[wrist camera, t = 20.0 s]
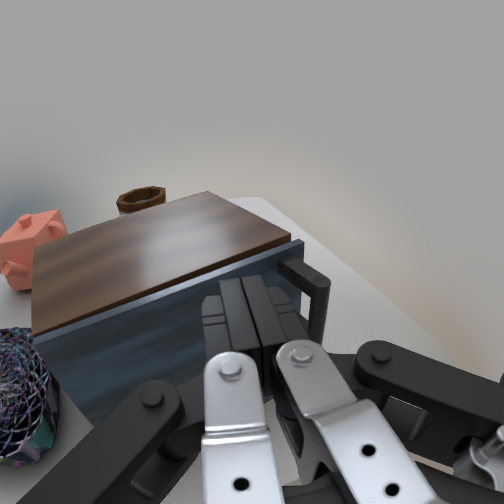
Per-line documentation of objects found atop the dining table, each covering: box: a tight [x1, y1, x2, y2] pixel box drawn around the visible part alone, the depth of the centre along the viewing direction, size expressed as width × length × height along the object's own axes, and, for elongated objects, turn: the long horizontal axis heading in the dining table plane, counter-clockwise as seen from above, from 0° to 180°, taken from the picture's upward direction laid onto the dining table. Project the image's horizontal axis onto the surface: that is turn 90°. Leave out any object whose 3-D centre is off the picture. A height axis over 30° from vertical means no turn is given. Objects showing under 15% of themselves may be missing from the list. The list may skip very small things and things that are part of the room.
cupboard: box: [31, 191, 291, 338], centre depth 37 cm, size 18×26×24 cm
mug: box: [116, 186, 166, 218], centre depth 74 cm, size 20×14×15 cm
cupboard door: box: [33, 239, 331, 427], centre depth 28 cm, size 7×26×24 cm, turn 124°
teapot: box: [0, 209, 68, 291], centre depth 62 cm, size 25×23×18 cm
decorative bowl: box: [0, 327, 60, 467], centre depth 31 cm, size 26×28×10 cm
